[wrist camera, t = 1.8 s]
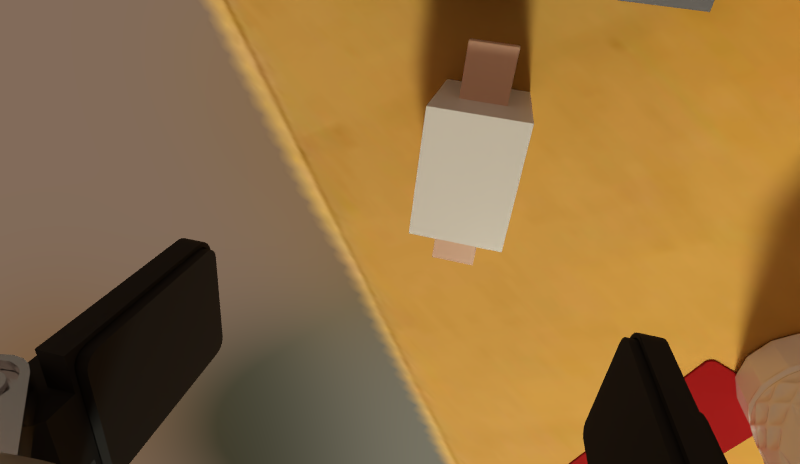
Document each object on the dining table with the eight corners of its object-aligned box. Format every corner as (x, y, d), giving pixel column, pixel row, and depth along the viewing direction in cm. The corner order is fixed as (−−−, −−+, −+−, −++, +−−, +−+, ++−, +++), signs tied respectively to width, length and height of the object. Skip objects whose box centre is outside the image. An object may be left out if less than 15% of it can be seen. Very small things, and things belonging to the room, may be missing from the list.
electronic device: (708, 352, 27) (544, 476, 34) (711, 359, 26) (545, 483, 34) (791, 403, 27) (611, 515, 35) (795, 410, 27) (612, 522, 34)
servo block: (542, 41, 21) (550, 59, 16) (496, 233, 26) (490, 295, 21) (454, 28, 22) (435, 42, 17) (425, 219, 27) (402, 276, 21)
